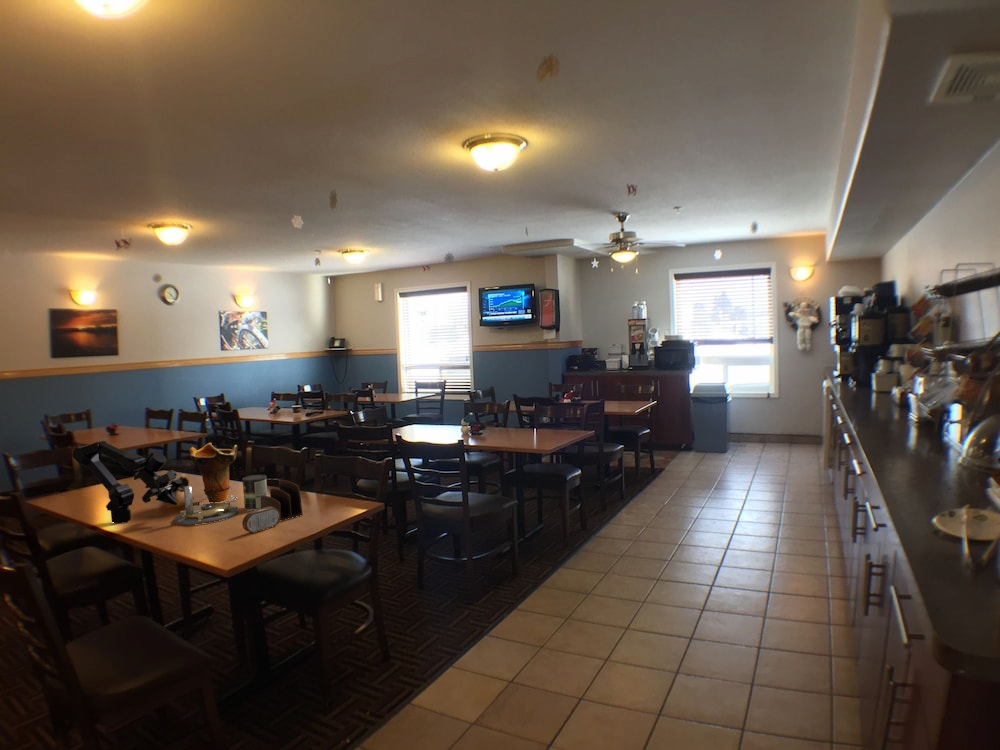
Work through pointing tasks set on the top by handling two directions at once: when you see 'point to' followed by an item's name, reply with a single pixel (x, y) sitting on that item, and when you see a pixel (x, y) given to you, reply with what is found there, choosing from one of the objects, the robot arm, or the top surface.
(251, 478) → the coffee can
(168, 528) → the top surface
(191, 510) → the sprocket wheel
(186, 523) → the base plate
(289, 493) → the letter holder
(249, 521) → the tin
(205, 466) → the decorative vase
